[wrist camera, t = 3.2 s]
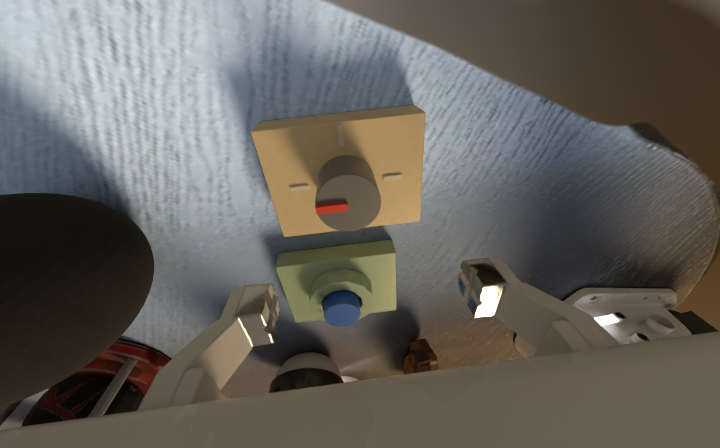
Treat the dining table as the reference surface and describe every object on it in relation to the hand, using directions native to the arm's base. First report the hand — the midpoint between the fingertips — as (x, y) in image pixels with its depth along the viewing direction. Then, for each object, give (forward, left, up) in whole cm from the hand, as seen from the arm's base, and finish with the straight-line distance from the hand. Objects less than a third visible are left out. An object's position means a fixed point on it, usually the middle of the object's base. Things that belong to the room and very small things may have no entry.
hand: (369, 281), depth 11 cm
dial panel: (+1, 0, -14) cm, 14 cm away
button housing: (+3, +13, -14) cm, 19 cm away
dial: (+1, 0, -11) cm, 11 cm away
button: (+3, +13, -10) cm, 17 cm away
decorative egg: (+23, +3, -14) cm, 27 cm away
